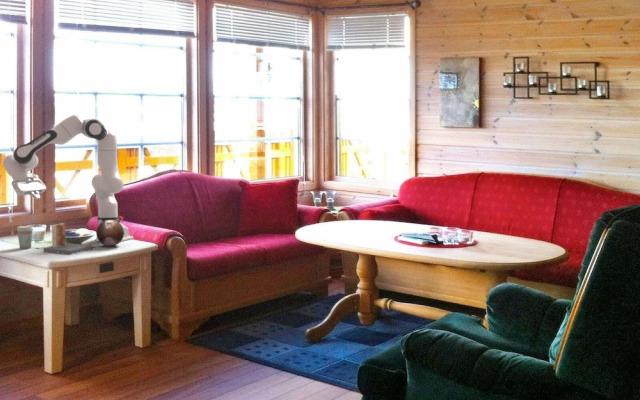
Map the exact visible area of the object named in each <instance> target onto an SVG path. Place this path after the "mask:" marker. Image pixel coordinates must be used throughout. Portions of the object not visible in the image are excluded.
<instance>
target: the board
mask: <svg viewBox="0 0 640 400" xmlns="http://www.w3.org/2000/svg"><path fill="white" fill-rule="evenodd" d="M42 249H43V252H44V253H51V252H59V253H58V254H60V253H67V254H66V255H70V254H71V255H73V254H72V253H75V254H77V252H79V253H82V252H85V251H90V250H92V249H93V245H89V244H80V243H68V242H66V245H64V246H59V247H52V245H50V246H47V247H43V248H42Z"/></svg>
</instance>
